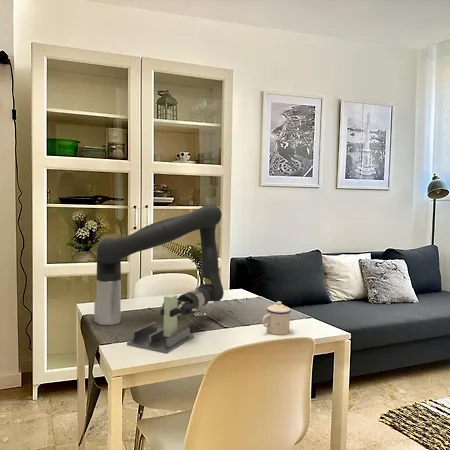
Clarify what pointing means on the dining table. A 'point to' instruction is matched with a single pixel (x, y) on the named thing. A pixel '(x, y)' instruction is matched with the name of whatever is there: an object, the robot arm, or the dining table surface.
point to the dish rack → (158, 338)
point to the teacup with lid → (277, 319)
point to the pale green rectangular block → (169, 322)
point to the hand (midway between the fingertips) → (166, 313)
